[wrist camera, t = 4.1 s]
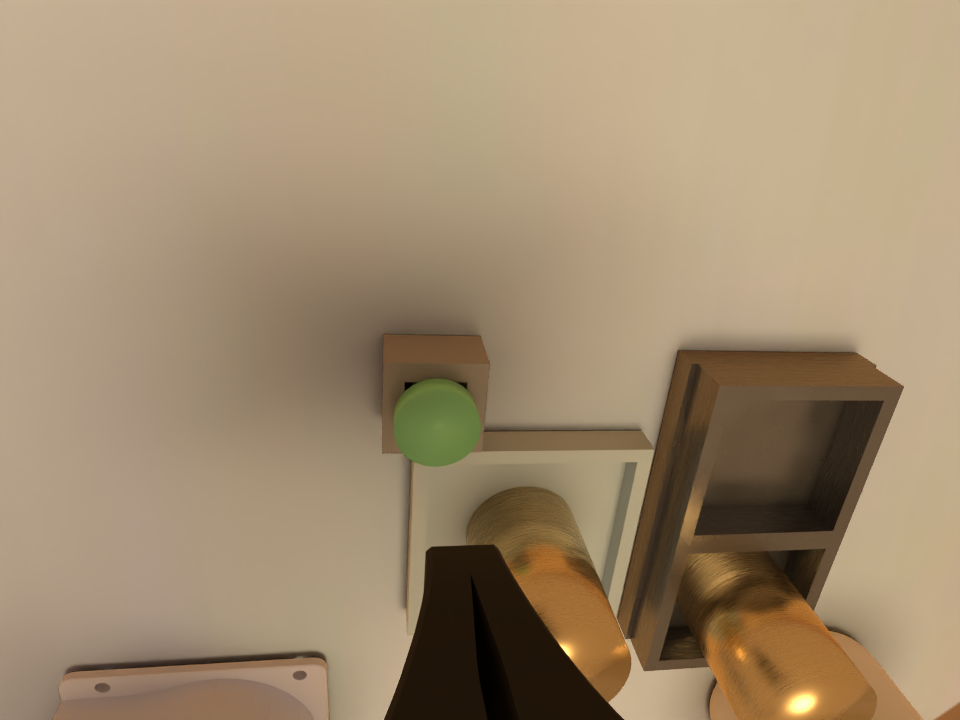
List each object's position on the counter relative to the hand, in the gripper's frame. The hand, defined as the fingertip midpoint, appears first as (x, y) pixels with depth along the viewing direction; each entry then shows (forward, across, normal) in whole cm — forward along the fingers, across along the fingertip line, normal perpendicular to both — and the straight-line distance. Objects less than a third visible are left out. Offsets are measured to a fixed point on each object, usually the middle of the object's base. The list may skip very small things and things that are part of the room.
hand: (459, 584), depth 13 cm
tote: (+9, -4, +6) cm, 11 cm away
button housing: (+9, 0, 0) cm, 9 cm away
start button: (+10, 0, 0) cm, 10 cm away
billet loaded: (+8, -12, +8) cm, 16 cm away
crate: (+9, -12, +5) cm, 15 cm away
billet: (+8, -4, +6) cm, 11 cm away
